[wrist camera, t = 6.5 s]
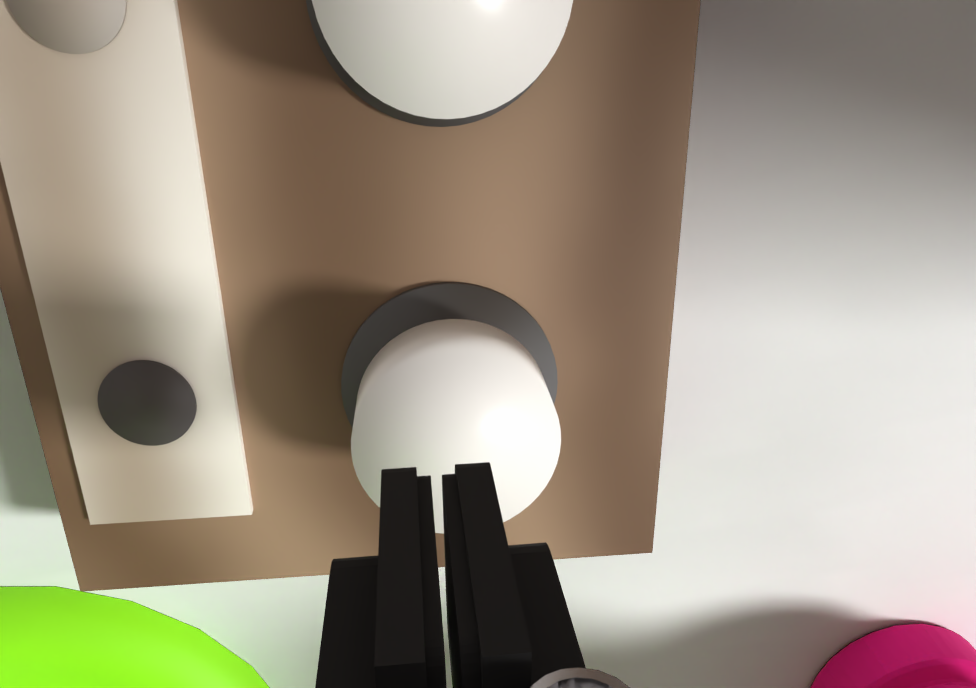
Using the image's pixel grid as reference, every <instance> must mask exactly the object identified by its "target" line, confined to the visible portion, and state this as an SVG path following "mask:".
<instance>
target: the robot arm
mask: <svg viewBox="0 0 976 688" xmlns="http://www.w3.org/2000/svg"><path fill="white" fill-rule="evenodd" d="M442 497H443V524H444V550H445V576H446V602H447V624H448V638H449V650H450V661H451V673H452V685H453V688H630V687H628V686H627V685H626V684H624V683H623V682H622V681H620V680H619V679H617V678H616V677H614V676H611V675H609V674H606V673H604V672H601V671H599V670H593V669H587V668H585V664H584V661H583V658H582V654H581V651H580V648H579V644H578V641H577V638H576V634H575V631H574V628H573V624H572V621H571V618H570V615H569V611H568V608H567V605H566V601H565V598H564V595H563V591H562V588H561V585H560V581H559V578H558V575H557V571H556V568H555V565H554V561H553V558H552V555H551V551H550V549H549V546H548V544H547V543H546V542H545V543H532V544H519V545H508V542H507V538H506V533H505V528H504V524H503V519H502V515H501V510H500V506H499V501H498V497H497V492H496V488H495V483H494V479H493V474H492V469H491V465H490V463H489V462H483V463H468V464H455V474H443V475H442ZM315 688H446V670H445V653H444V639H443V626H442V613H441V600H440V587H439V575H438V562H437V549H436V536H435V523H434V510H433V498H432V485H431V475H428V476H417V469H416V467H408V468H393V469H382V470H381V493H380V520H379V548H378V555H377V556H365V557H352V558H339V559H333V560H332V563H331V568H330V576H329V584H328V592H327V600H326V608H325V616H324V623H323V631H322V639H321V647H320V655H319V663H318V671H317V679H316V687H315Z"/></svg>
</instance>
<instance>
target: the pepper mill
mask: <svg viewBox="0 0 976 688" xmlns="http://www.w3.org/2000/svg"><path fill="white" fill-rule="evenodd" d="M810 688H976V650H975V649H974V648H973V647H972V645H971V644H970V643H969V642H968V641H967V640H965V639H964V638H963V637H961V636H960V635H959V634H957V633H955V632H953V631H950V630H948V629H945V628H942V627H938V626H932V625H926V624H909V625H895V626H892V627H888V628H885V629H881V630H878V631H875V632H872V633H870V634H868V635H866V636H864V637H862V638H860V639H858V640H856V641H854V642H852V643H850V644H849V645H848V646H846V647H845V648H843V649H842V650H841V651H840V652H838V653H837V654H836V655H835V656H833V657H832V658H831V659H830V660H829V661H828V662H827V664H826V665H825V666H824V667H823V669H822V670H821V671H820V672H819V673H818V675H817V677H816V678H815V680H814V682H813V684H812V686H811V687H810Z"/></svg>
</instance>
